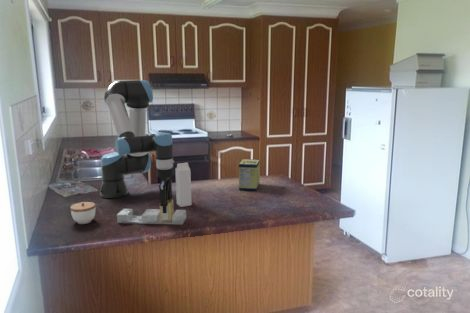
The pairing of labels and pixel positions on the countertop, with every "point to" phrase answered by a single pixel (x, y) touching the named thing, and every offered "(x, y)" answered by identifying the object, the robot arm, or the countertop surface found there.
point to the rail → (150, 217)
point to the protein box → (249, 174)
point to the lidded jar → (83, 212)
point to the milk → (183, 184)
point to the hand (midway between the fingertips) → (167, 216)
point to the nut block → (170, 209)
